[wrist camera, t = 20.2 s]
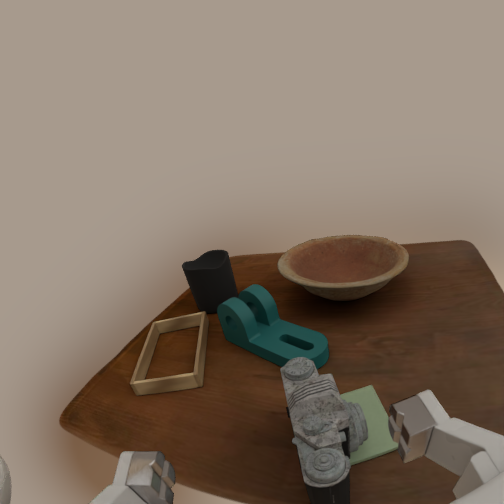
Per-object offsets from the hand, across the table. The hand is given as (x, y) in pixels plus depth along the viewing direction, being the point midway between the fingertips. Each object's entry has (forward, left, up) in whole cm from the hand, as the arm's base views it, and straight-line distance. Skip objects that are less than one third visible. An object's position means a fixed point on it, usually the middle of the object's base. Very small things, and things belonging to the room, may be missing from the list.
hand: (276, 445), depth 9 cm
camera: (+3, +11, -20) cm, 23 cm away
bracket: (0, +34, -21) cm, 40 cm away
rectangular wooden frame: (-17, +37, -21) cm, 45 cm away
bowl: (+15, +45, -21) cm, 52 cm away
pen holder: (-10, +53, -21) cm, 57 cm away
